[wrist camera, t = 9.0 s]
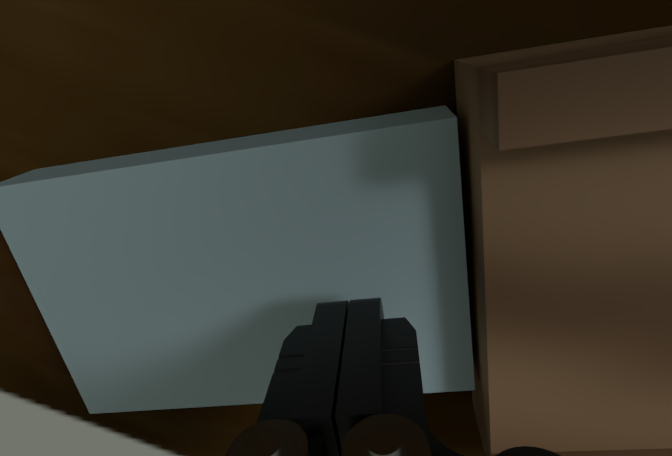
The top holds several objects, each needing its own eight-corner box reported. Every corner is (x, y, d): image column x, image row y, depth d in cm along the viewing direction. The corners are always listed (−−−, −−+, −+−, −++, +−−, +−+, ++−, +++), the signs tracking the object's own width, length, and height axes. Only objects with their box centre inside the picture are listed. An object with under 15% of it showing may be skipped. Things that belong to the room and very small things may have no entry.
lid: (45, 165, 14) (-19, 189, 12) (442, 102, 12) (456, 117, 10) (128, 364, 17) (89, 414, 14) (461, 337, 15) (474, 390, 13)
